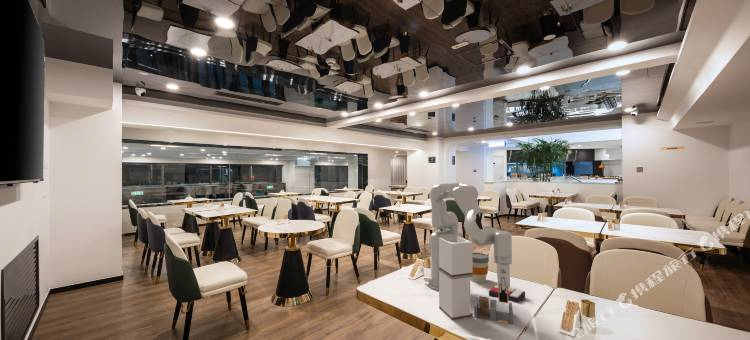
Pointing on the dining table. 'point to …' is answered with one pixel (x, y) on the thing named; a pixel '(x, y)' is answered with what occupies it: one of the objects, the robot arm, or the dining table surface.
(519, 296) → the calculator
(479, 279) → the reusable coffee cup
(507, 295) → the tan tall block
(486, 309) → the walnut plug
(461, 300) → the banded white column
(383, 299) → the dining table surface
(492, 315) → the grey slotted rack
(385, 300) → the dining table surface
